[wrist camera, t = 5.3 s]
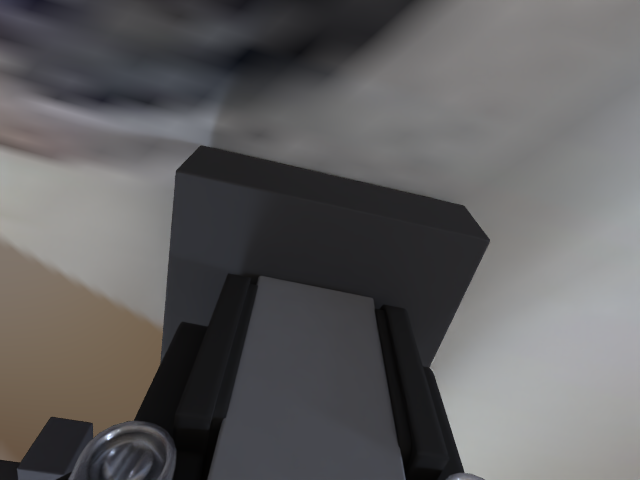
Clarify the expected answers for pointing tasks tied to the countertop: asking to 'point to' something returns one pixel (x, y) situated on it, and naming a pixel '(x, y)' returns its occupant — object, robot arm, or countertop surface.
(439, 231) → the pad
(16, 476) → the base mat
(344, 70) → the countertop surface
